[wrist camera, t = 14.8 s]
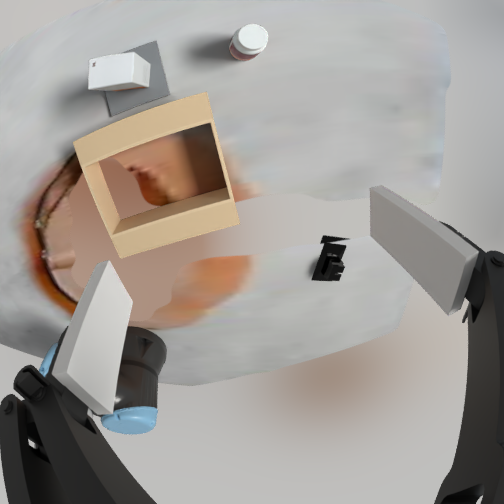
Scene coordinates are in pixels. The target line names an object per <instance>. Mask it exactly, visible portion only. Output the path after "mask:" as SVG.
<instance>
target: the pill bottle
mask: <svg viewBox="0 0 504 504" xmlns="http://www.w3.org/2000/svg"><path fill="white" fill-rule="evenodd" d="M267 41H268V34H267V32H266V30H265V29H264V28H263V27H261V26H259V25H256V24H249V25H246V26H244V27H242V28H240V29H239V30H237V31H236V32H235V34H234V36H233V38H232V40H231V42H230V45H229V50H230V53H231V54H232V56H233V57H235V58H236V59H238V60H243V61H246V60H251V59H253V58H254V57H255V56H257V55H258V54H259V53H260V52H261V51H262V50H263V49H264V48H265V47H266V44H267Z"/></svg>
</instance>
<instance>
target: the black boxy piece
mask: <svg viewBox="0 0 504 504" xmlns="http://www.w3.org/2000/svg"><path fill="white" fill-rule="evenodd" d="M342 240H349V238H342V237H335V236H327V235H323V236H322V239H321V242H320V244H324V246H323V249H322V252H321V255H320V258H319V260H318V263H317V266H316V269H315V271H314V274H313V277H312V280H317V281H339V280H340V277H341V274H338V273H343V270H344V268H345V266H344V265H343V262H342V261H341V259H342V256H343V254H344V251H345V249H346V245H339V244H332V242H337V241H342Z"/></svg>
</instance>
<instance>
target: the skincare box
mask: <svg viewBox="0 0 504 504" xmlns="http://www.w3.org/2000/svg"><path fill="white" fill-rule="evenodd" d="M149 80H150V63H148V62H147V61H146V60H144V59H143V58H142V57H140V56H139V55H138V54H136V53H135V52H128V53H121V54H113V55H108V56H103V57H98V58H93V59H90V60H89V71H88V90H103V91H121V90H128V89H136V88H148V87H149Z"/></svg>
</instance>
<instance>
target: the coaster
mask: <svg viewBox="0 0 504 504" xmlns="http://www.w3.org/2000/svg"><path fill="white" fill-rule="evenodd" d="M128 52H135V53H136V54H138V55H139V56H140V57H142V58H143V59H144V60H146V61H147V62H148V63H150V80H149V87H148V88H136V89H128V90H121V91H105V94H106V98H107V101H108V105H109V109H110V112H111V116H114V115H116V114H119V113H121V112H123V111H126V110H129V109H131V108H134V107H136V106H139V105H142V104H144V103H147V102H150V101H153V100H156V99H159V98H162V97H165V96H168V95H170V92H169V89H168V85H167V81H166V77H165V73H164V69H163V65H162V61H161V57H160V53H159V49H158V44H157V41H153V42H151V43H148V44H145V45H142V46H139V47H136V48H134V49H131V50H129V51H126V52H124V53H128Z"/></svg>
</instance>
